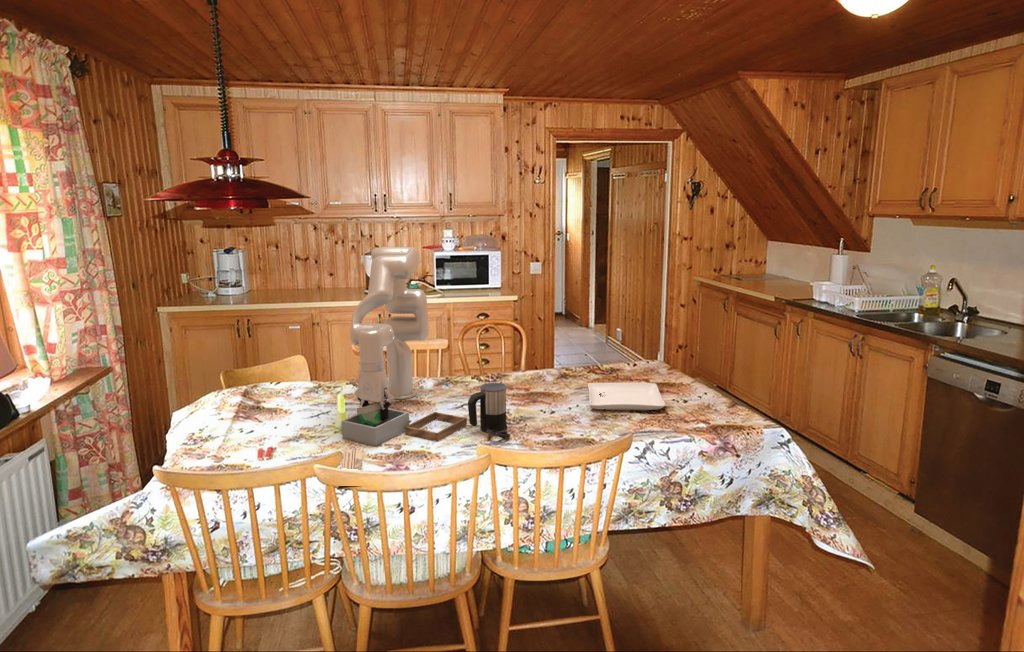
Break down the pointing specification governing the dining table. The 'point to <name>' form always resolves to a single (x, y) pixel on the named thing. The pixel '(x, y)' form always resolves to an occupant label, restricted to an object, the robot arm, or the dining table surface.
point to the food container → (371, 415)
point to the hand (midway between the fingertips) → (375, 417)
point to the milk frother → (490, 409)
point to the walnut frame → (414, 431)
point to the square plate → (625, 396)
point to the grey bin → (375, 428)
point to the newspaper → (352, 459)
